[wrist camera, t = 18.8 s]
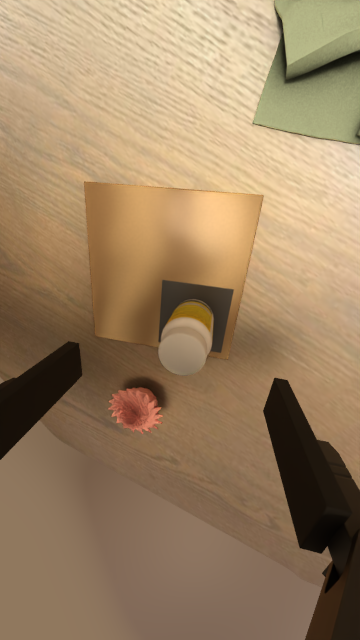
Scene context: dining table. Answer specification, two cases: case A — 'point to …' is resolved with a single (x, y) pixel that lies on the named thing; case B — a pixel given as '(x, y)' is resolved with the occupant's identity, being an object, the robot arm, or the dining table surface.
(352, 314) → the dining table surface
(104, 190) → the board
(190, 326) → the supplement bottle
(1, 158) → the dining table surface
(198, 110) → the dining table surface
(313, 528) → the robot arm
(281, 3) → the cloth
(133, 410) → the pink ruffled round piece
